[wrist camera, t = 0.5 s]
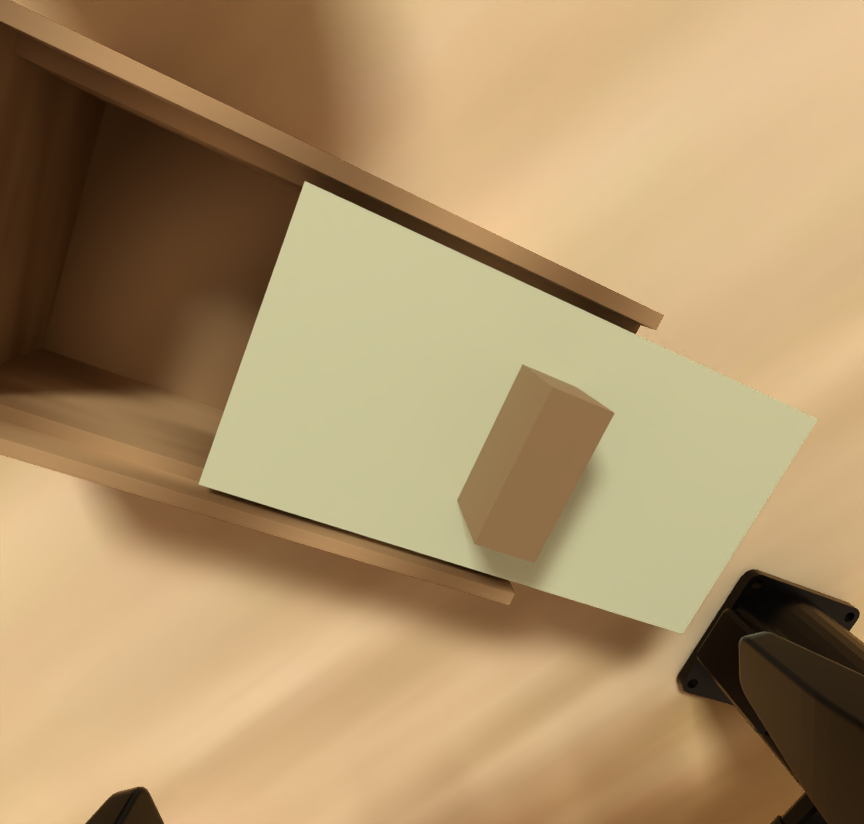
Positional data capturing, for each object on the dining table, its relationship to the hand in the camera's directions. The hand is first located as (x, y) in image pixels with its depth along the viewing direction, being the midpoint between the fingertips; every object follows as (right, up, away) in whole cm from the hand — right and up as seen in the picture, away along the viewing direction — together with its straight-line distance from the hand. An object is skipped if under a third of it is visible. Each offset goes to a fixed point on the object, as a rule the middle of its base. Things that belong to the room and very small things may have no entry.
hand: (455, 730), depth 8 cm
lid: (+2, +4, +7) cm, 8 cm away
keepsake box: (-4, +8, +10) cm, 13 cm away
